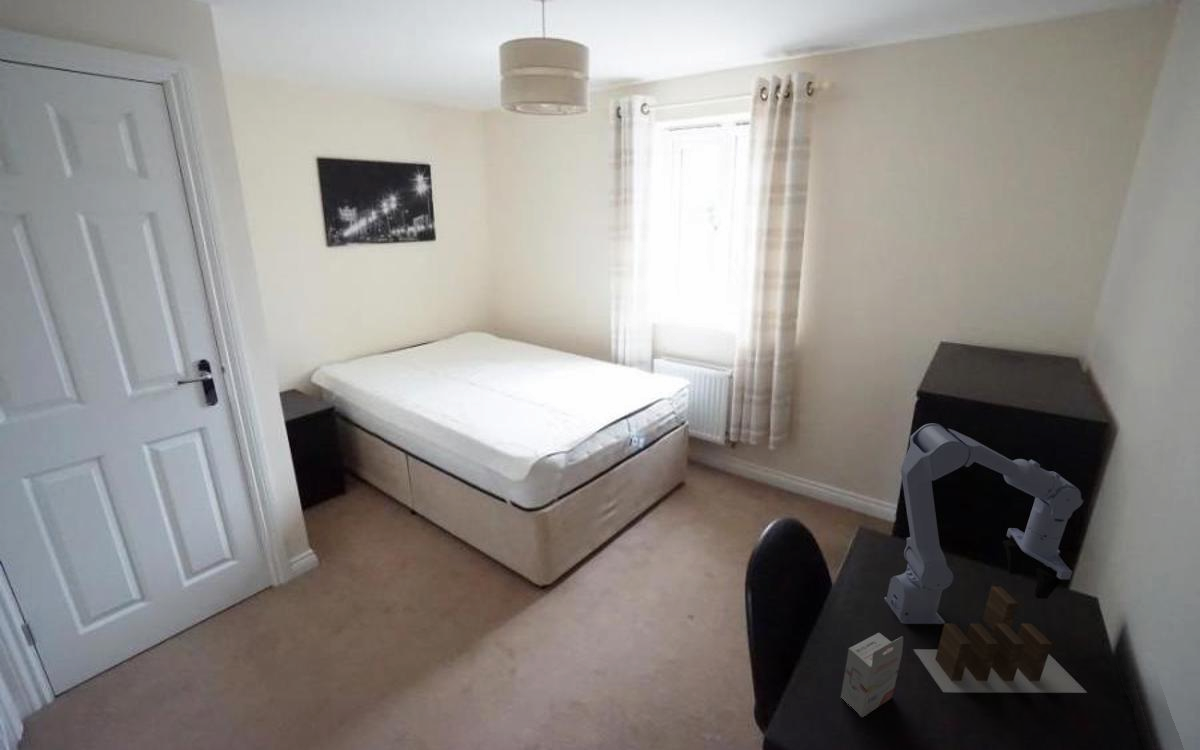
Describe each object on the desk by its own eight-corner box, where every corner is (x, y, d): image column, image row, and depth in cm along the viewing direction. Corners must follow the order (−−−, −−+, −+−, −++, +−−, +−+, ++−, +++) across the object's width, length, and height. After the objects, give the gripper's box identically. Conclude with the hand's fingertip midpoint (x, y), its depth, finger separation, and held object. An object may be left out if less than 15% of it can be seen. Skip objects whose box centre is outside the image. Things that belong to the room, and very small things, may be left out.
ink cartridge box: (868, 679, 103) (881, 617, 98) (892, 699, 98) (907, 636, 94) (838, 697, 99) (850, 634, 94) (861, 719, 95) (875, 654, 90)
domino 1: (950, 680, 102) (961, 643, 99) (935, 659, 107) (944, 623, 104) (961, 680, 102) (971, 643, 99) (945, 659, 107) (954, 623, 104)
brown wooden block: (998, 637, 112) (1008, 603, 110) (981, 620, 117) (991, 586, 114) (1007, 637, 112) (1017, 603, 110) (990, 620, 117) (1000, 586, 114)
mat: (942, 693, 100) (943, 692, 99) (912, 650, 109) (913, 649, 109) (1086, 694, 100) (1087, 692, 99) (1044, 651, 109) (1044, 649, 109)
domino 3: (1002, 680, 102) (1014, 643, 99) (985, 659, 107) (995, 623, 104) (1013, 680, 102) (1025, 643, 99) (994, 659, 107) (1005, 623, 104)
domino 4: (1029, 680, 102) (1041, 643, 99) (1009, 659, 107) (1021, 623, 104) (1039, 680, 102) (1052, 643, 99) (1019, 659, 107) (1031, 623, 104)
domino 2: (976, 680, 102) (987, 643, 99) (960, 659, 107) (970, 623, 104) (987, 680, 102) (998, 643, 99) (970, 659, 107) (980, 623, 104)
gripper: (1094, 552, 103) (1074, 609, 107) (1035, 511, 117) (1019, 562, 121) (1058, 552, 103) (1039, 609, 107) (1004, 510, 117) (989, 562, 121)
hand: (1026, 584), depth 114 cm, fingers open, 7 cm apart
